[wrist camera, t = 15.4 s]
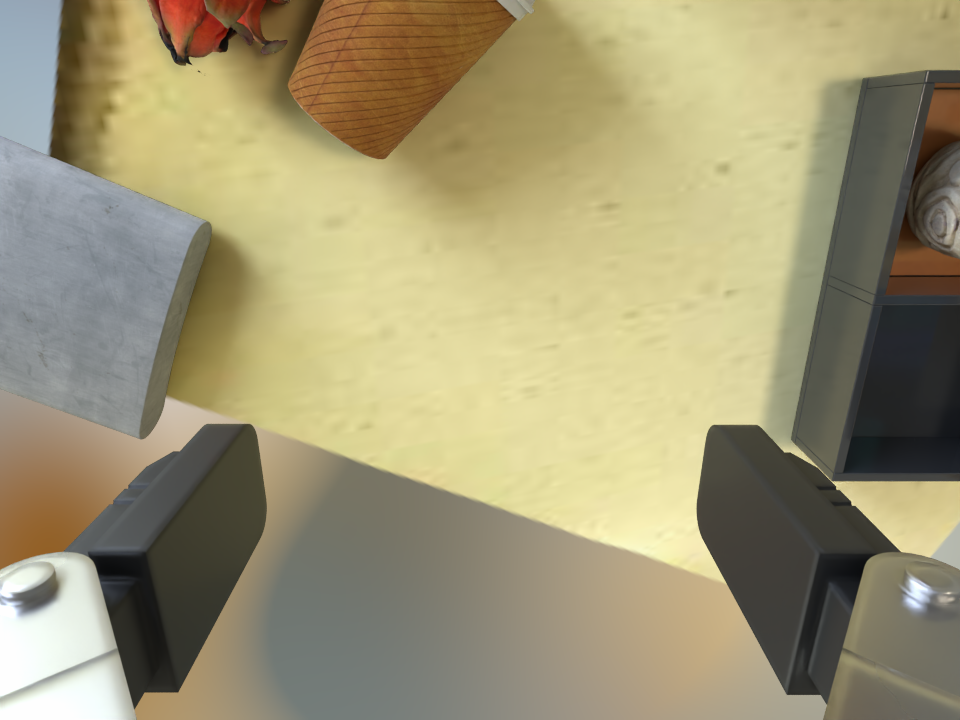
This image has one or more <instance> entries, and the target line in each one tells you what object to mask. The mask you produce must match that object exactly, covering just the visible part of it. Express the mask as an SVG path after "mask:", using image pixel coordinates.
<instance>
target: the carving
mask: <svg viewBox="0 0 960 720" xmlns="http://www.w3.org/2000/svg"><path fill="white" fill-rule="evenodd" d="M906 209H907V219H908V222H909V226H910V228H911V230H912V232H913V233H914V234H915V236H916V237H917V238H918V239H919V240H920V242H921V243H922V244H923V245H924V246H926V247H929V248H931V249H933V250H935V251H938V252H940V253H942V254H944V255H947V256H951V257H953V258H958V259H960V140H959V141H956V142H953V143H951V144H948V145H946V146H944V147H943V148H942V149H940V150H939V151H938V152H937V153H935V154H934V155H933V156H932V157H931V159H930V160H929V161H928V162H927V163H926V164H925V165H924V166H923V167H922V169H921V170H920V172H919V173H918V175H917V176H916V178H915V180H914V181H913V183H912V185H911V188H910V193H909V197H908V201H907V205H906Z"/></svg>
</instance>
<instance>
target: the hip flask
mask: <svg viewBox="0 0 960 720" xmlns="http://www.w3.org/2000/svg"><path fill="white" fill-rule="evenodd" d="M211 232H212V228H211V224H210V223H209V222H207V221H205V220H203V219H200V218H198V217H195V216H193V215H190V214H188V213H186V212H183V211H181V210H178V209H176V208H174V207H171V206H169V205H166V204H164V203H161V202H159V201H157V200H154V199H152V198H149V197H147V196H144V195H142V194H140V193H137V192H135V191H132V190H130V189H128V188H125V187H123V186H120V185H118V184H115V183H113V182H111V181H108V180H106V179H103V178H101V177H98V176H96V175H94V174H91V173H89V172H86V171H84V170H81V169H79V168H77V167H74V166H72V165H69V164H67V163H65V162H62V161H60V160H57V159H55V158H52V157H50V156H48V155H45V154H43V153H40V152H38V151H35V150H33V149H31V148H28V147H26V146H23V145H21V144H19V143H16V142H14V141H11V140H9V139H6V138H4V137H2V136H0V389H2V390H4V391H7V392H10V393H13V394H16V395H18V396H21V397H24V398H27V399H30V400H33V401H35V402H38V403H41V404H44V405H46V406H49V407H52V408H55V409H58V410H60V411H63V412H66V413H69V414H72V415H74V416H77V417H80V418H83V419H86V420H89V421H91V422H94V423H97V424H100V425H102V426H105V427H108V428H111V429H114V430H116V431H119V432H122V433H125V434H128V435H130V436H133V437H136V438H139V439H144V438H146V437H147V436H148V435H149V434H150V433H151V431H152V430H153V429H154V427H155V425H156V424H157V422H158V420H159V418H160V416H161V413H162V411H163V407H164V402H165V397H166V391H167V386H168V382H169V377H170V373H171V368H172V364H173V360H174V356H175V352H176V348H177V344H178V341H179V337H180V334H181V330H182V326H183V323H184V319H185V316H186V312H187V309H188V306H189V302H190V299H191V296H192V293H193V290H194V286H195V283H196V280H197V277H198V274H199V271H200V268H201V266H202V263H203V260H204V257H205V254H206V251H207V249H208V246H209V243H210V239H211Z"/></svg>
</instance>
